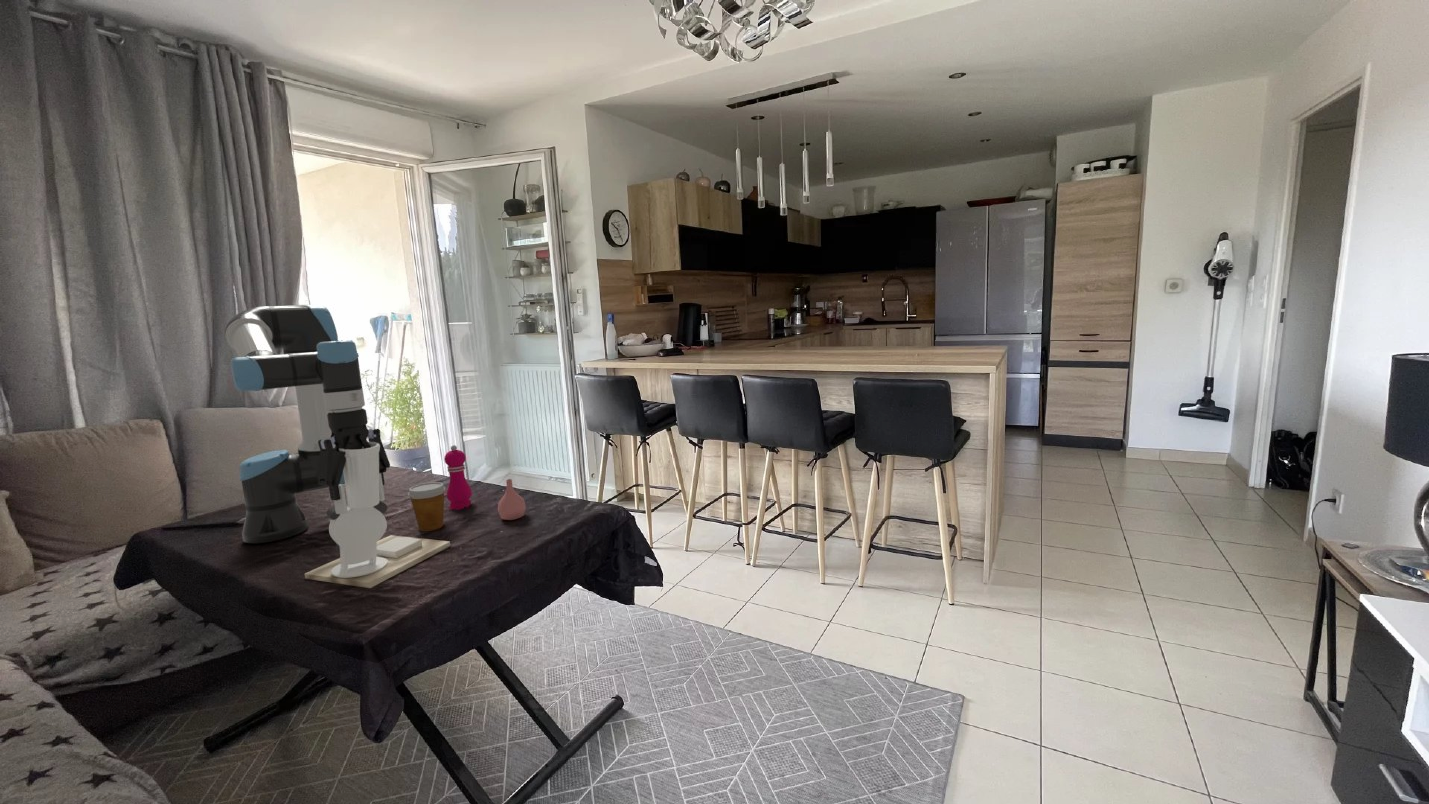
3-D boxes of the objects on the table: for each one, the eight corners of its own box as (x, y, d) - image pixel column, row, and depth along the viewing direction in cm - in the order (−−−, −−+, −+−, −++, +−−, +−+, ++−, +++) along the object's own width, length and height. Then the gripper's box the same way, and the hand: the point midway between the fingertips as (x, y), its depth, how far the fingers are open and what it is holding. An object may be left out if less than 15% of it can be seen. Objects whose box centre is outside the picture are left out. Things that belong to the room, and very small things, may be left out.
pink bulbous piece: (532, 518, 171) (528, 478, 169) (507, 526, 165) (503, 485, 163) (517, 513, 176) (514, 474, 174) (494, 521, 170) (489, 481, 169)
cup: (340, 513, 131) (335, 451, 129) (346, 502, 138) (341, 442, 136) (381, 509, 134) (377, 448, 132) (385, 498, 142) (381, 440, 139)
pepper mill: (443, 511, 181) (435, 448, 178) (457, 503, 188) (449, 442, 185) (464, 511, 180) (457, 448, 177) (477, 504, 187) (471, 442, 184)
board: (305, 578, 137) (304, 573, 137) (391, 539, 160) (390, 535, 159) (370, 588, 131) (369, 583, 131) (450, 545, 153) (449, 541, 153)
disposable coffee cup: (456, 521, 172) (451, 481, 170) (437, 533, 162) (432, 491, 161) (425, 521, 173) (420, 481, 171) (405, 533, 163) (399, 492, 162)
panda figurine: (382, 553, 147) (377, 494, 145) (397, 566, 139) (392, 504, 137) (325, 567, 139) (320, 505, 137) (338, 582, 131) (332, 517, 129)
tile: (370, 548, 146) (395, 551, 143) (397, 536, 153) (421, 539, 151) (371, 555, 146) (396, 558, 143) (398, 543, 153) (422, 545, 151)
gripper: (311, 417, 121) (328, 523, 124) (398, 402, 142) (411, 493, 144) (286, 418, 124) (303, 521, 127) (375, 403, 144) (388, 492, 147)
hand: (361, 506), depth 135 cm, fingers open, 9 cm apart
